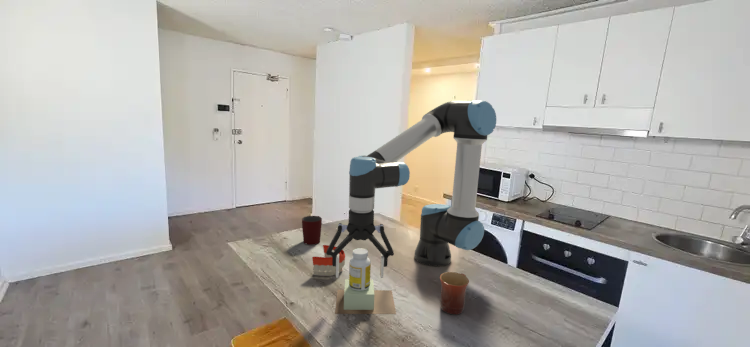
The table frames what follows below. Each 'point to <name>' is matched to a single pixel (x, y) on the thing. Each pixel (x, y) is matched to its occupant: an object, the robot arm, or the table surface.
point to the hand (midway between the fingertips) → (359, 275)
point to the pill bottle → (359, 270)
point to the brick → (358, 297)
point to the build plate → (381, 303)
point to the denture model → (327, 263)
